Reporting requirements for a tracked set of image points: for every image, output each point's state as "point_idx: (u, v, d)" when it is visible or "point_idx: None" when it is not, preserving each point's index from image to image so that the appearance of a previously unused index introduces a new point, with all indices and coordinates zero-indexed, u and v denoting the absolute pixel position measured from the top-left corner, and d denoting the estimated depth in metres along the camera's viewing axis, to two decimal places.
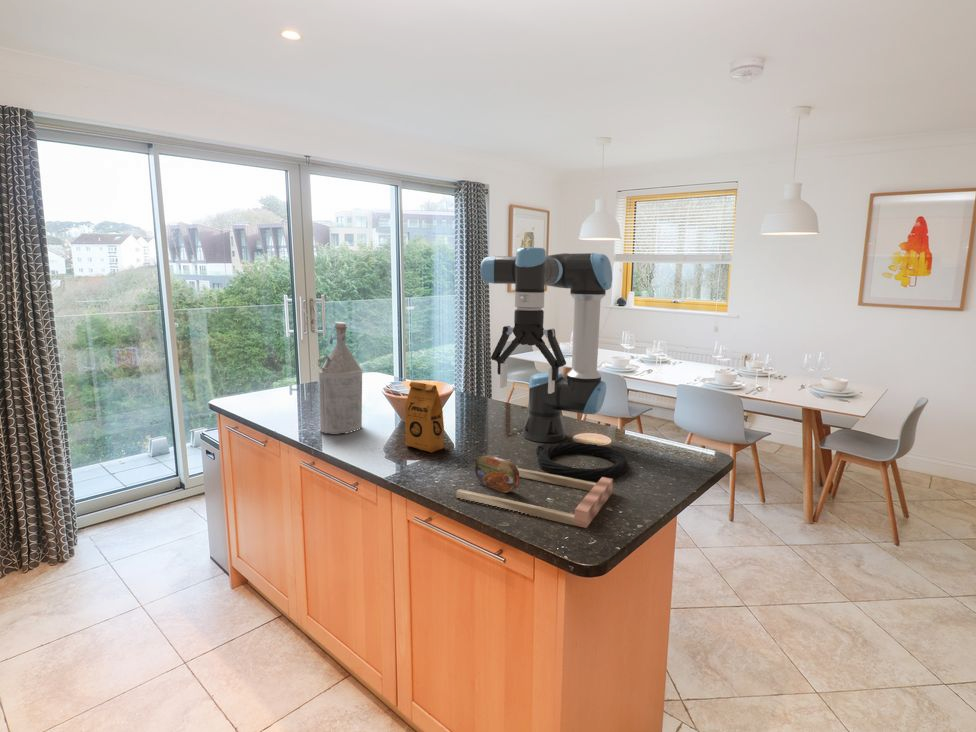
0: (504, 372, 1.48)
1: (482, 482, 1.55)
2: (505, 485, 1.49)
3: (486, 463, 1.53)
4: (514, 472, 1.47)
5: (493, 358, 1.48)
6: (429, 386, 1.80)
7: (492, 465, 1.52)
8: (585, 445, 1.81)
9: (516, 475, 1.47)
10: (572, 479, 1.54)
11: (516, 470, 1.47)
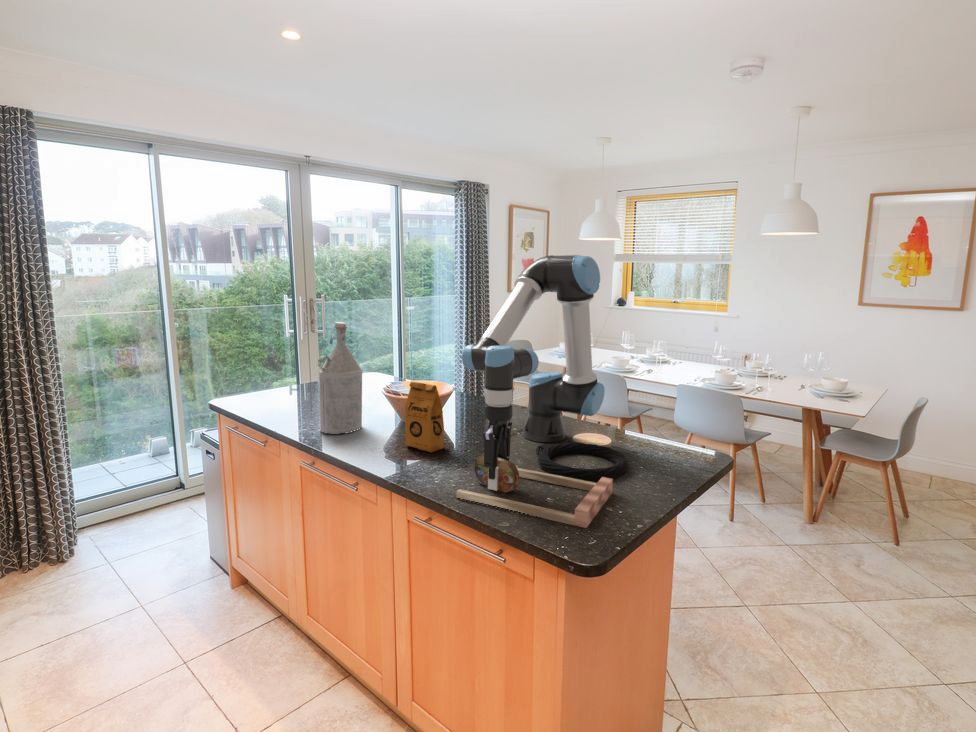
0: None
1: (482, 482, 1.55)
2: (505, 484, 1.49)
3: None
4: (514, 472, 1.46)
5: None
6: (429, 386, 1.80)
7: None
8: (585, 445, 1.81)
9: (516, 475, 1.47)
10: (572, 479, 1.54)
11: (516, 469, 1.47)
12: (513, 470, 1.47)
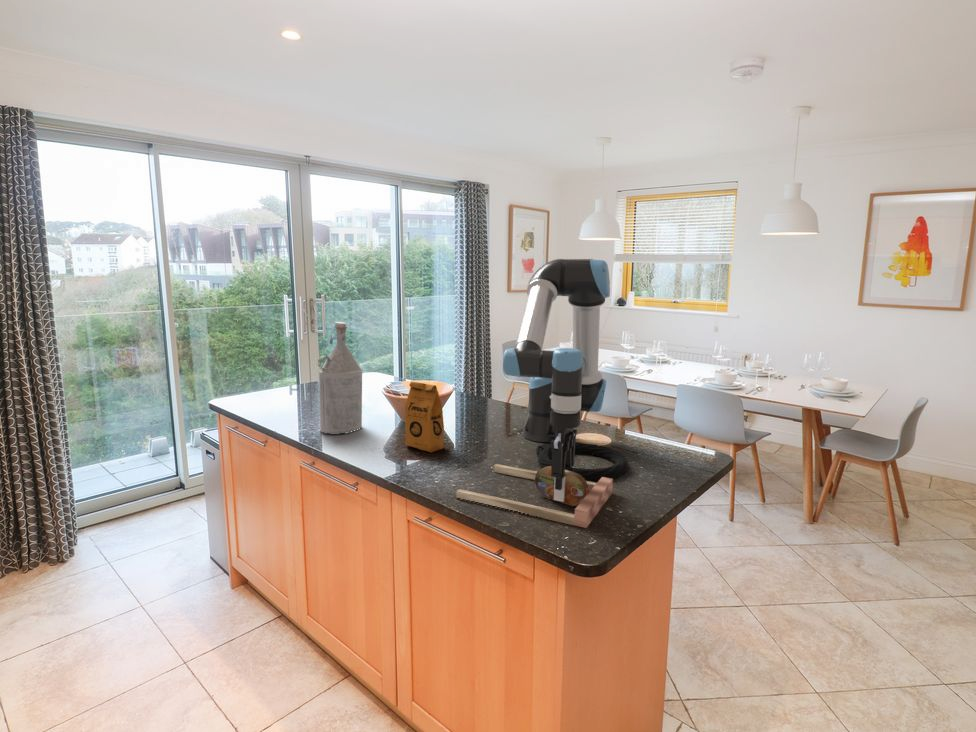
0: None
1: (544, 495, 1.46)
2: (573, 497, 1.41)
3: (549, 475, 1.45)
4: (583, 484, 1.39)
5: None
6: (429, 386, 1.80)
7: None
8: (585, 445, 1.81)
9: (585, 487, 1.39)
10: None
11: (585, 482, 1.39)
12: (583, 482, 1.39)
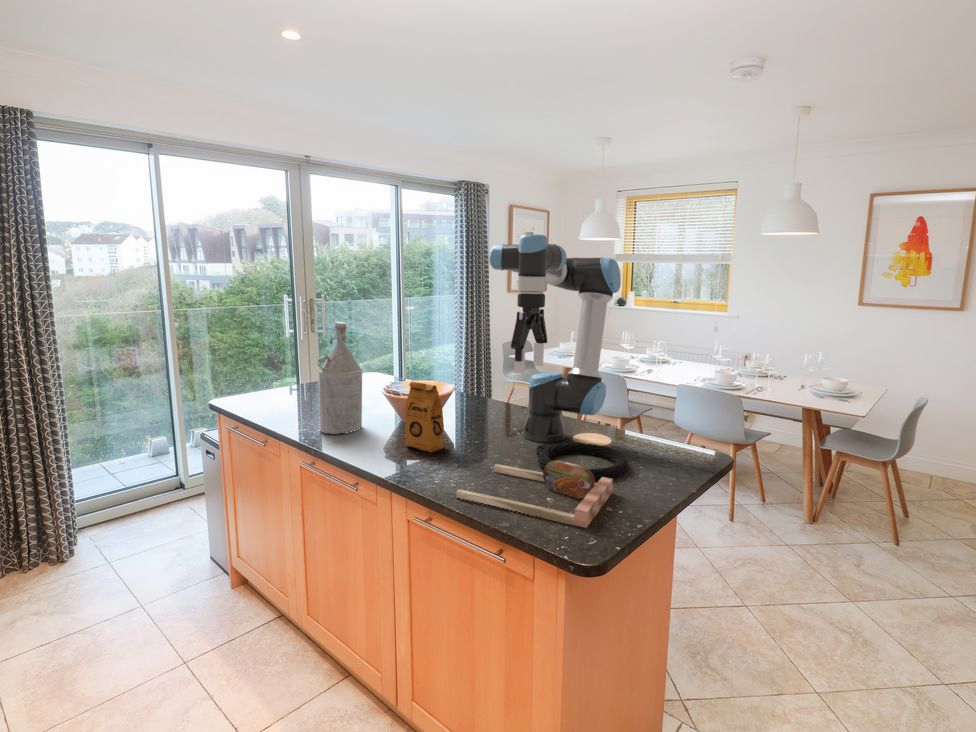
0: (536, 352, 1.60)
1: (552, 488, 1.51)
2: (580, 490, 1.46)
3: (557, 469, 1.50)
4: (590, 477, 1.44)
5: None
6: (429, 386, 1.80)
7: (564, 470, 1.49)
8: (585, 445, 1.81)
9: (592, 480, 1.44)
10: None
11: (592, 475, 1.45)
12: (590, 475, 1.44)
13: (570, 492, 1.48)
